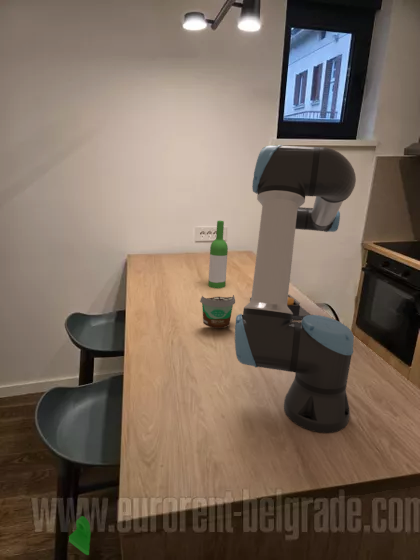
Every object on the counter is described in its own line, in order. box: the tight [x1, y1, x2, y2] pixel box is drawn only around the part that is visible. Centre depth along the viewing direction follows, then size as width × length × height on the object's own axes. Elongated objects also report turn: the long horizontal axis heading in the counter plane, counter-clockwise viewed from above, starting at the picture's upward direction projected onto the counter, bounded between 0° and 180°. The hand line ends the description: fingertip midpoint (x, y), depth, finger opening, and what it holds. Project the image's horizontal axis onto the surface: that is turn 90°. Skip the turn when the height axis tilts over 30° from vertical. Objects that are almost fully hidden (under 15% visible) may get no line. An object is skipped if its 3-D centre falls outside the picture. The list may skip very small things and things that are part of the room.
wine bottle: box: [208, 220, 229, 289], centre depth 168 cm, size 8×8×30 cm
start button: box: [287, 296, 295, 305], centre depth 140 cm, size 4×4×3 cm
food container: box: [199, 294, 236, 329], centre depth 129 cm, size 12×6×10 cm, turn 105°
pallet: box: [249, 294, 313, 321], centre depth 148 cm, size 21×17×6 cm
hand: (275, 298), depth 151 cm, fingers closed
